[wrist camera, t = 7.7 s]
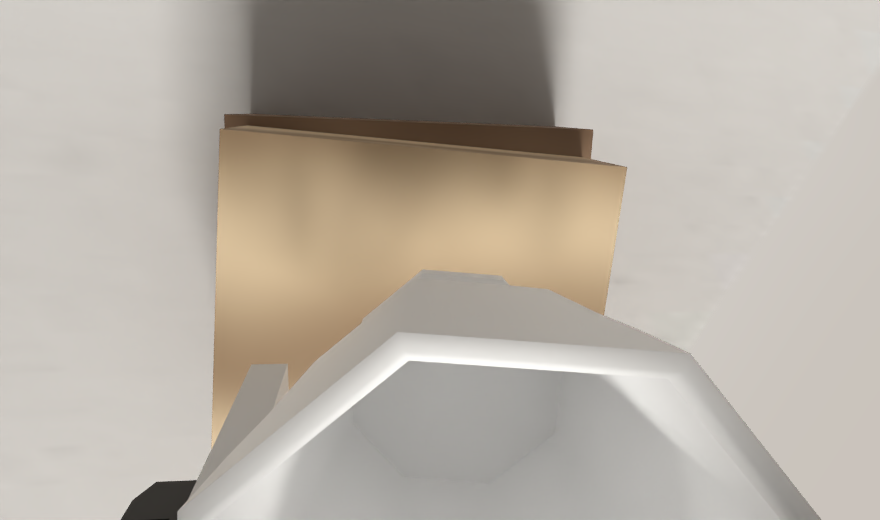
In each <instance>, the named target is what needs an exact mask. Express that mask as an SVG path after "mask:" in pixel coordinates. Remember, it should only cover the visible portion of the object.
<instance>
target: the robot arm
mask: <svg viewBox="0 0 880 520" xmlns="http://www.w3.org/2000/svg"><path fill="white" fill-rule="evenodd" d="M288 391H289V386H288V364H251V367H250V369H249V371H248V373H247V375H246V377H245V379H244V381H243V384H242V386H241V388H240V390H239V392H238V394H237V396H236V398H235V401H234V403H233V405H232V407H231V409H230V411H229V413H228V415H227V418H226V420H225V422H224V424H223V426H222V428H221V430H220V432H219V435H218V437H217V439H216V441H215V443H214V445H213V447H212V449H211V452H210V454H209V456H208V458H207V460H206V462H205V464H204V466H203V469H202V471H201V473H200V475H199V477H198V479H197V480H193V481H168V482H156V483H154V484H153V485H152V486H151V487H149V488H148V489H147V490H145V491H144V492H143V493H141V494H140V495H139V496H138V497H136V498H135V499H134V500H133V501H132V502H131V504H130V505H129V507H128V509H127V510H126V512H125V514H124V515H123V517H122V519H121V520H177V511H178V510H179V509H180V508H181V507H182V506H183V505H184V504H185V503H186V501H187V500H188V499H189V498H190V497H191V496H192V495H193V494H194V493H195V491H196V490H197V489H198V488H199V487H200V486H201V485H202V484H203V483H204V482H205V480H206V479H207V478H208V477H209V476H210V475H211V474H212V473H213V472H214V471H215V469H216V468H217V467H218V466H219V465H220V464H221V463H222V462H223V461H224V459H225V458H226V457H227V456H228V455H229V454H230V453H231V452H232V451H233V450H234V449H235V448H236V447H237V446H238V445H239V444H240V443H241V442H242V441H243V440H244V439H245V438H246V437H247V435H248V434H249V433H250V432H251V431H252V430H253V429H254V428H255V427H256V426H257V425H258V424H259V423H260V422H261V421H262V420H263V419H264V418H265V417H266V416H267V415H268V414H269V413H270V412H271V410H272V409H273V408H274V407H275V406H276V405H277V404H278V403H279V401H280V400H281V399H282V398H283V397H284V396H285V395H286V393H287V392H288Z"/></svg>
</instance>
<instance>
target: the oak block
mask: <svg viewBox="0 0 880 520" xmlns="http://www.w3.org/2000/svg"><path fill="white" fill-rule="evenodd" d="M626 171H627V167H624V166H619V165H615V164H610V163H606V162H601V161H597V160H592V159H588V158H583V157H575V156H564V155H554V154H543V153H533V152H522V151H512V150H501V149H491V148H480V147H469V146H459V145H448V144H438V143H427V142H417V141H406V140H396V139H385V138H375V137H364V136H354V135H343V134H333V133H322V132H312V131H301V130H291V129H280V128H270V127H259V126H249V125H247V126H239V127H231V128H224V129H220V142H219V180H218V218H217V256H216V294H215V332H214V369H213V407H212V445H211V449H212V447H213V445H214V443H215V441H216V439H217V437H218V435H219V432H220V430H221V428H222V426H223V424H224V422H225V420H226V418H227V415H228V413H229V411H230V409H231V407H232V405H233V403H234V401H235V398H236V396H237V394H238V392H239V390H240V388H241V386H242V384H243V381H244V379H245V377H246V375H247V373H248V371H249V369H250V367H251V364H288V386H289V390H290V389H291V388H292V387H293V386H294V384H295V383H296V382H297V381H298V380H299V379H300V378H301V376H302V375H303V374H304V373H305V372H306V371H307V370H308V369H309V367H310V366H311V365H312V364H313V363H314V362H315V361H316V360H317V359H318V358H320V357H321V356H322V355H323V354H324V353H326V352H327V351H328V350H329V349H331V348H332V347H333V346H334V345H335V344H337V343H338V342H339V341H340V340H342V339H343V338H344V337H345V336H346V335H348V334H349V333H350V332H351V331H352V330H354V329H355V328H356V327H357V326H359V325H360V324H361V323H362V320H363V318H364V317H366V316H367V315H368V314H369V313H371V312H372V311H373V310H374V309H375V308H377V307H378V306H379V305H380V304H381V303H383V302H384V301H385V300H386V299H388V298H389V297H390V296H391V295H392V294H394V293H395V292H396V291H397V290H398V289H400V288H401V287H402V286H403V285H405V284H406V283H407V282H408V281H409V280H411V279H412V278H413V277H414V276H415V275H417V274H418V273H419V272H420V271H422V270H423V269H424V270H436V271H449V272H461V273H474V274H486V275H499V276H502V277H503V278H504V279H505V281H506V282H507V283H508V284H509V285H511V286H521V287H531V288H542V289H549V290H551V291H553V292H555V293H557V294H559V295H561V296H563V297H565V298H567V299H569V300H572V301H574V302H576V303H578V304H580V305H582V306H584V307H586V308H588V309H590V310H592V311H594V312H597V313H599V314H602V315H604V311H605V305H606V298H607V292H608V286H609V279H610V273H611V267H612V260H613V254H614V248H615V241H616V235H617V228H618V222H619V216H620V209H621V203H622V197H623V190H624V184H625V177H626Z"/></svg>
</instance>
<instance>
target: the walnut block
mask: <svg viewBox="0 0 880 520" xmlns="http://www.w3.org/2000/svg"><path fill="white" fill-rule="evenodd" d="M224 120H225V128H231V127H239V126H247V125H249V126H259V127H270V128H280V129H291V130H301V131H312V132H322V133H333V134H343V135H354V136H364V137H375V138H385V139H396V140H406V141H417V142H427V143H438V144H448V145H459V146H469V147H480V148H491V149H501V150H512V151H522V152H533V153H543V154H554V155H564V156H575V157H583V158H588V159H591V150H592V138H593V130H590V129H578V128H566V127H553V126H529V125H505V124H481V123H457V122H433V121H409V120H385V119H361V118H337V117H314V116H290V115H266V114H224Z"/></svg>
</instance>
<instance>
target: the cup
mask: <svg viewBox="0 0 880 520" xmlns="http://www.w3.org/2000/svg"><path fill="white" fill-rule="evenodd" d="M177 520H821V519H820V517H819V516H818V515H817V514H816V512H815V511H814V510H813V509H812V507H811V506H810V505H809V504H808V502H807V501H806V500H805V498H804V497H803V496H802V495H801V493H800V492H799V491H798V490H797V488H796V487H795V486H794V484H793V483H792V482H791V481H790V479H789V478H788V477H787V476H786V474H785V473H784V472H783V470H782V469H781V468H780V467H779V465H778V464H777V463H776V462H775V460H774V459H773V458H772V457H771V455H770V454H769V453H768V451H767V450H766V449H765V448H764V446H763V445H762V444H761V442H760V441H759V440H758V439H757V438H756V436H755V435H754V434H753V432H752V431H751V430H750V429H749V427H748V426H747V425H746V423H745V422H744V421H743V420H742V418H741V417H740V416H739V415H738V413H737V412H736V411H735V409H734V408H733V407H732V406H731V404H730V403H729V402H728V401H727V399H726V398H725V397H724V396H723V394H722V393H721V392H720V390H719V389H718V388H717V387H716V385H715V384H714V383H713V381H712V380H711V379H710V378H709V376H708V375H707V374H706V373H705V371H704V370H703V369H702V367H701V366H700V365H699V364H698V362H697V361H696V360H695V359H694V357H693V356H692V355H691V354H690V353H688V352H686V351H684V350H682V349H680V348H678V347H675V346H673V345H671V344H669V343H667V342H664V341H662V340H660V339H658V338H656V337H654V336H651V335H649V334H647V333H645V332H643V331H641V330H638V329H636V328H634V327H631V326H629V325H626V324H624V323H621V322H619V321H616V320H614V319H611V318H609V317H606V316H604V315H602V314H599V313H597V312H594V311H592V310H590V309H588V308H586V307H584V306H582V305H580V304H578V303H576V302H574V301H572V300H569V299H567V298H565V297H563V296H561V295H559V294H557V293H555V292H553V291H551V290H549V289H542V288H531V287H521V286H511V285H509V284H508V283H507V282H506V281H505V279H504V278H503V277H502V276H499V275H486V274H474V273H461V272H449V271H436V270H424V269H423V270H422V271H420V272H419V273H418V274H417V275H415V276H414V277H413V278H412V279H411V280H409V281H408V282H407V283H406V284H405V285H403V286H402V287H401V288H400V289H398V290H397V291H396V292H395V293H394V294H392V295H391V296H390V297H389V298H388V299H386V300H385V301H384V302H383V303H381V304H380V305H379V306H378V307H377V308H375V309H374V310H373V311H372V312H371V313H369V314H368V315H367V316H366V317H364V318H363V320H362V323H361V324H360V325H359V326H357V327H356V328H355V329H354V330H352V331H351V332H350V333H349V334H348V335H346V336H345V337H344V338H343V339H342V340H340V341H339V342H338V343H337V344H335V345H334V346H333V347H332V348H331V349H329V350H328V351H327V352H326V353H324V354H323V355H322V356H321V357H320V358H318V359H317V360H316V361H315V362H314V363H313V364H312V365H311V366H310V367H309V369H308V370H307V371H306V372H305V373H304V374H303V375H302V376H301V378H300V379H299V380H298V381H297V382H296V383H295V384H294V386H293V387H292V388H291V389H290V390H289V391H288V392H287V393H286V395H285V396H284V397H283V398H282V399H281V400H280V401H279V403H278V404H277V405H276V406H275V407H274V408H273V409H272V410H271V412H270V413H269V414H268V415H267V416H266V417H265V418H264V419H263V420H262V421H261V422H260V423H259V424H258V425H257V426H256V427H255V428H254V429H253V430H252V431H251V432H250V433H249V434H248V435H247V437H246V438H245V439H244V440H243V441H242V442H241V443H240V444H239V445H238V446H237V447H236V448H235V449H234V450H233V451H232V452H231V453H230V454H229V455H228V456H227V457H226V458H225V459H224V461H223V462H222V463H221V464H220V465H219V466H218V467H217V468H216V469H215V471H214V472H213V473H212V474H211V475H210V476H209V477H208V478H207V479H206V480H205V482H204V483H203V484H202V485H201V486H200V487H199V488H198V489H197V490H196V491H195V493H194V494H193V495H192V496H191V497H190V498H189V499H188V500H187V501H186V503H185V504H184V505H183V506H182V507H181V508H180V509H179V510H178V511H177Z"/></svg>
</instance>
